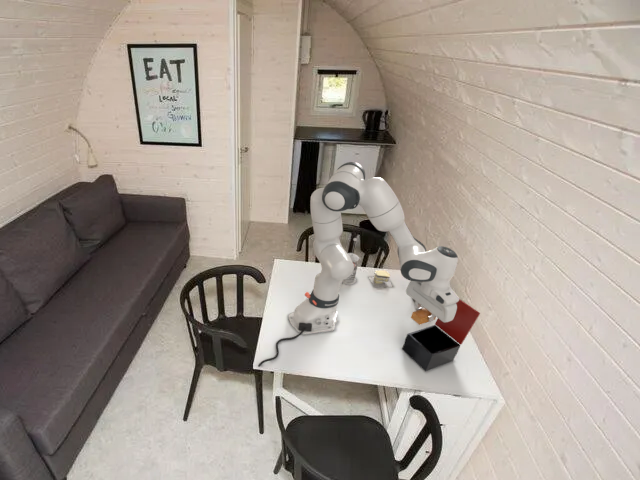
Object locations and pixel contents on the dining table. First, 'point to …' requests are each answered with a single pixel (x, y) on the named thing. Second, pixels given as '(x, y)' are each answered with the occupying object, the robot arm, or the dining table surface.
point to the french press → (354, 258)
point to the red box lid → (459, 322)
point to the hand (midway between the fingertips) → (424, 315)
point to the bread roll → (421, 316)
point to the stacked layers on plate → (381, 279)
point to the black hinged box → (430, 347)
